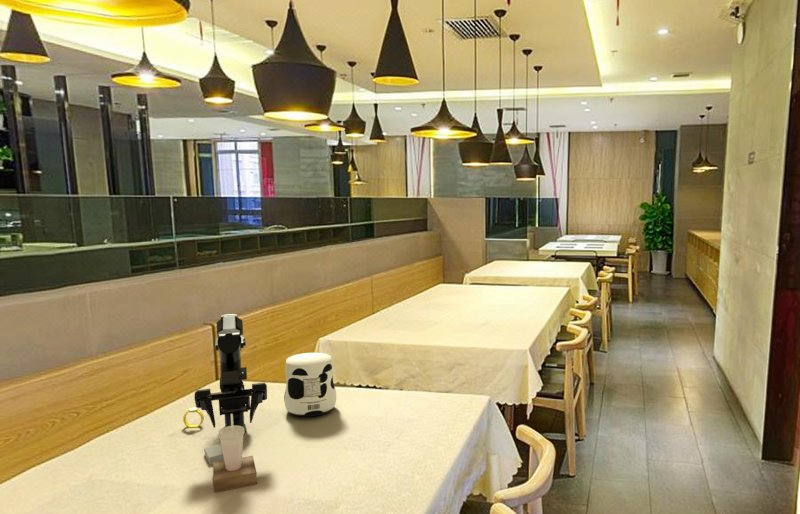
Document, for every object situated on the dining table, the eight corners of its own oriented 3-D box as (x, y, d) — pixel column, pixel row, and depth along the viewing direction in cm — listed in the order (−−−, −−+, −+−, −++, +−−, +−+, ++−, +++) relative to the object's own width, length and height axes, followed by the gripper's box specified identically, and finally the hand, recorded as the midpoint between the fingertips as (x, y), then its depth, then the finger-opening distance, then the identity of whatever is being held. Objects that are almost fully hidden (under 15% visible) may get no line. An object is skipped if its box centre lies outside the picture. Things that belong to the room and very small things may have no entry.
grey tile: (204, 454, 153) (204, 447, 152) (230, 448, 156) (229, 441, 156) (209, 464, 147) (209, 457, 146) (236, 458, 150) (235, 451, 150)
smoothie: (229, 475, 134) (226, 420, 132) (215, 468, 138) (211, 414, 137) (251, 466, 139) (248, 412, 137) (237, 459, 143) (234, 407, 141)
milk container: (311, 398, 196) (308, 349, 195) (347, 407, 186) (345, 355, 184) (273, 414, 182) (271, 361, 181) (311, 424, 172) (308, 368, 170)
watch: (204, 425, 175) (204, 407, 174) (201, 429, 172) (201, 410, 171) (185, 424, 175) (185, 406, 174) (182, 428, 172) (182, 410, 171)
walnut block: (213, 473, 141) (212, 462, 141) (253, 466, 145) (252, 455, 144) (214, 492, 132) (213, 480, 132) (257, 483, 135) (256, 472, 135)
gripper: (192, 361, 145) (191, 416, 136) (264, 354, 150) (268, 406, 141) (196, 381, 154) (196, 434, 144) (265, 373, 159) (268, 424, 149)
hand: (232, 424), depth 144 cm, fingers open, 9 cm apart
